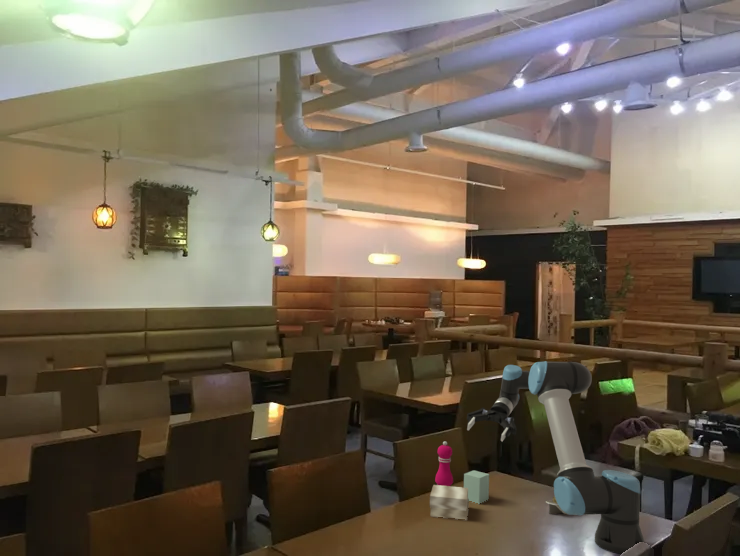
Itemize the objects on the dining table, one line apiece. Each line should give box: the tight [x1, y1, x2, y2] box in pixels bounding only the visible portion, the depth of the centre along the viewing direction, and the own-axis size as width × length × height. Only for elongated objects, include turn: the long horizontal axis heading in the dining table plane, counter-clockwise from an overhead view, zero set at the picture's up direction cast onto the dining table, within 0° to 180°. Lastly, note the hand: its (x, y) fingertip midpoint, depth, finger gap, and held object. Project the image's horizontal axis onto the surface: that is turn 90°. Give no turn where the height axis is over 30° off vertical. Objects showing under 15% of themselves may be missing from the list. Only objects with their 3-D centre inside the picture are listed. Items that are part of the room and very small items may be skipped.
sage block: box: [463, 470, 490, 505], centre depth 245 cm, size 7×7×10 cm
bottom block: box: [430, 498, 470, 521], centre depth 231 cm, size 13×13×4 cm
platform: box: [545, 496, 567, 515], centre depth 232 cm, size 12×18×7 cm, turn 107°
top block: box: [429, 484, 468, 511], centre depth 231 cm, size 13×13×4 cm
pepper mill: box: [434, 441, 454, 486], centre depth 254 cm, size 7×7×20 cm
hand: (484, 432), depth 244 cm, fingers open, 13 cm apart
